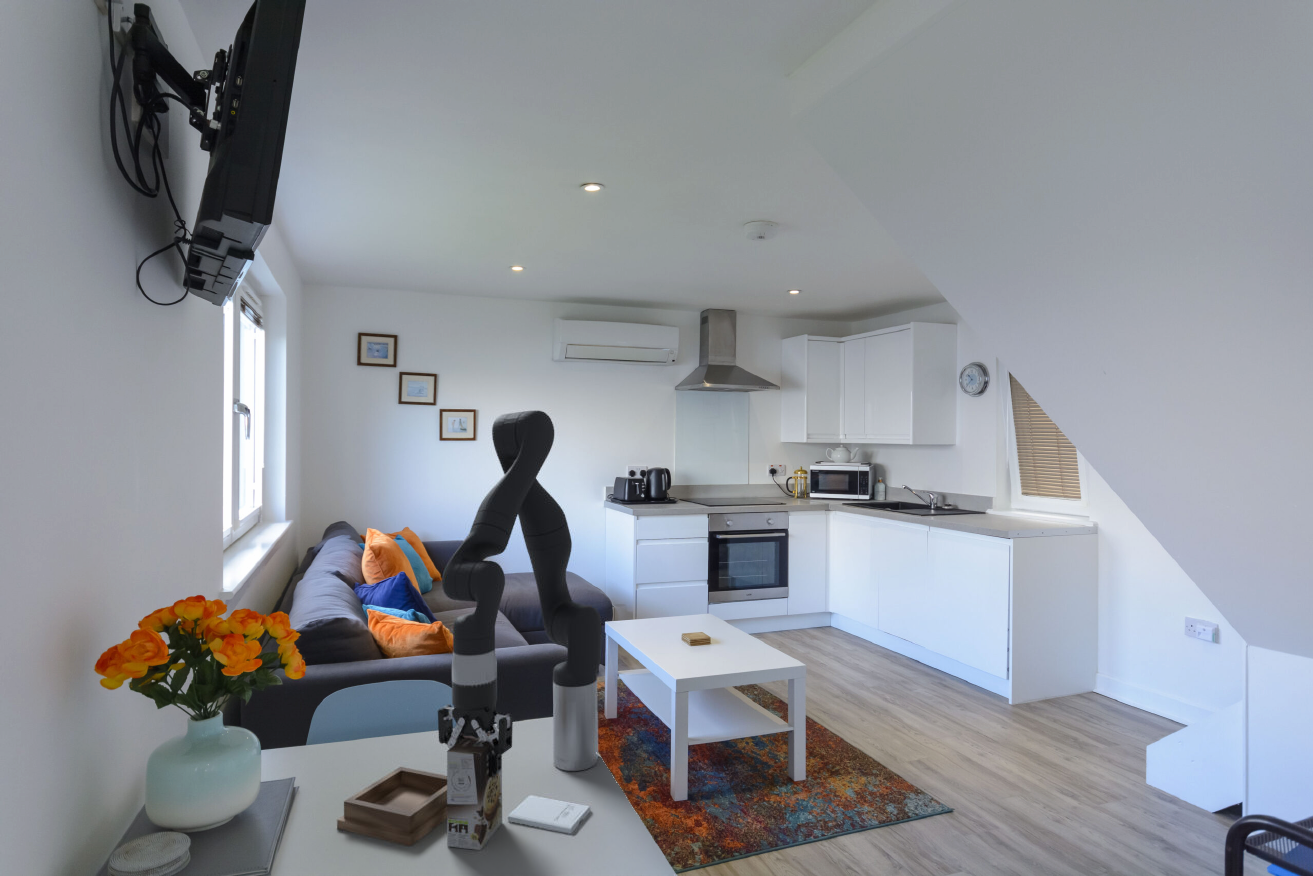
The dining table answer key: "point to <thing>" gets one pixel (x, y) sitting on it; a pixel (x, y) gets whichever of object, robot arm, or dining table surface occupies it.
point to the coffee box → (471, 795)
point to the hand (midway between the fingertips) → (475, 771)
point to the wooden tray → (398, 806)
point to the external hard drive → (549, 814)
